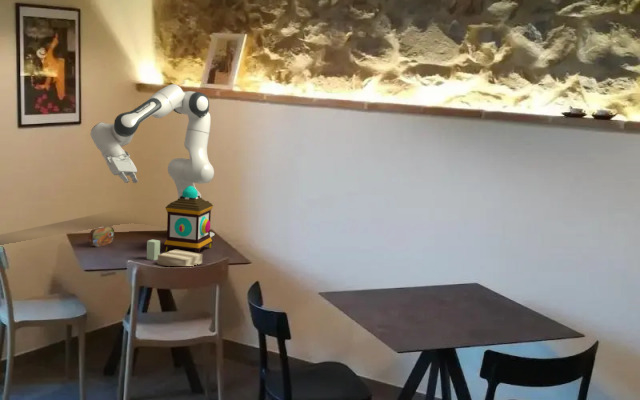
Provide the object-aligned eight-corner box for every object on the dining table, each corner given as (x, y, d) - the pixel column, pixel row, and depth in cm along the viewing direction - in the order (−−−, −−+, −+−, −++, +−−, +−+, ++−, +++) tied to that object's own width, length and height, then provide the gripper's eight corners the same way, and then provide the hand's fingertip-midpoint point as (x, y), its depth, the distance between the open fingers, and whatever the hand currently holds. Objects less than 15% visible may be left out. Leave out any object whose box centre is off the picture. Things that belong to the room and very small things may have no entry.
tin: (92, 248, 349) (93, 230, 348) (87, 247, 351) (87, 229, 349) (115, 242, 363) (115, 225, 361) (109, 241, 364) (110, 224, 363)
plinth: (175, 258, 341) (175, 249, 340) (202, 263, 336) (202, 254, 335) (157, 264, 329) (157, 255, 329) (185, 269, 324) (185, 260, 323)
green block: (152, 257, 341) (152, 239, 339) (159, 258, 339) (160, 240, 338) (146, 258, 337) (147, 241, 336) (154, 260, 335) (154, 242, 334)
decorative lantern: (159, 252, 350) (160, 186, 345) (176, 243, 369) (178, 181, 364) (200, 257, 346) (202, 191, 341) (216, 247, 365) (218, 185, 360)
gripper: (110, 151, 329) (127, 177, 328) (129, 153, 349) (146, 178, 348) (98, 159, 330) (116, 186, 329) (119, 161, 350) (135, 186, 349)
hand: (131, 182), depth 339 cm, fingers open, 8 cm apart
